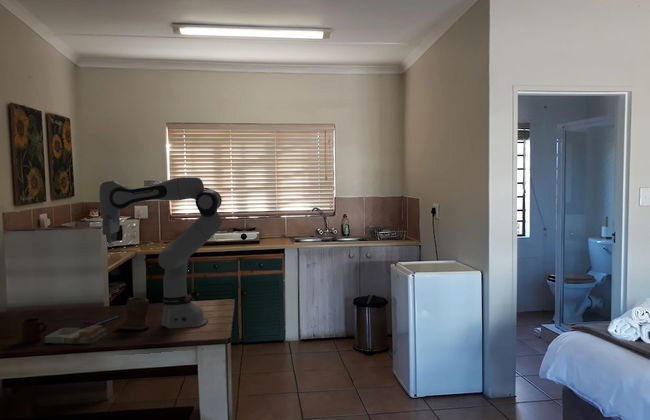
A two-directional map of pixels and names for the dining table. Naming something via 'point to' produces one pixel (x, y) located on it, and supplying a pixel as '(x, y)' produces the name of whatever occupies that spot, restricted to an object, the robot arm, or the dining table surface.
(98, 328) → the tile
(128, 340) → the dining table surface
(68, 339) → the board
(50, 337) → the tray
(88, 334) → the tile
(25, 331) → the mug
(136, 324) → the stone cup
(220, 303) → the dining table surface
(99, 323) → the squeegee
